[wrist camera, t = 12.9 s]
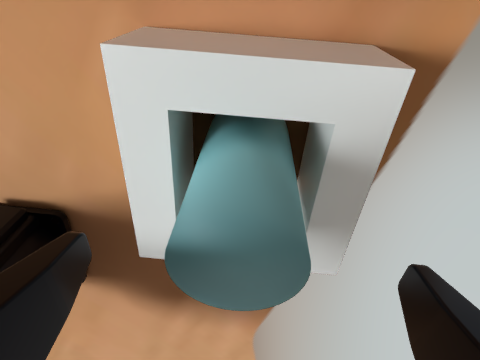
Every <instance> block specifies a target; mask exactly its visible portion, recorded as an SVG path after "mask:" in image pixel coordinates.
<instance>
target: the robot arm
mask: <svg viewBox="0 0 480 360" xmlns="http://www.w3.org/2000/svg"><path fill="white" fill-rule="evenodd" d="M91 256H92V254H91V249H90V246H89V243H88V240H87V237H86V235H85V234H84V233H82V232H73V231H72V230H71V227H70V224H69V222H68V219H67V216H66V215H65V214H64V213H63V212H61V211H58V210H49V209H38V208H27V207H16V206H5V205H0V360H46V358H47V356H48V354H49V352H50V350H51V348H52V346H53V345H54V343H55V341H56V339H57V337H58V335H59V333H60V331H61V329H62V327H63V325H64V323H65V321H66V319H67V317H68V315H69V313H70V311H71V309H72V306H73V304H74V302H75V299H76V296H77V294H78V291H79V289H80V286H81V284H82V283H83V282H84V281H85V279H86V277H87V273H86V271H87V269H88V266H89V264H90V261H91ZM398 291H399V296H400V301H401V305H402V310H403V314H404V319H405V323H406V328H407V332H408V337H409V341H410V344H411V348H412V351H413V355H414V358H415V360H480V310H479V309H478V308H477V307H475V306H474V305H473V304H472V303H471V302H470V301H468V300H467V299H466V298H465V297H464V296H462V295H461V294H460V293H459V292H458V291H457V290H455V289H454V288H453V287H452V286H450V285H449V284H448V283H447V282H446V281H445V280H444V279H442V278H441V277H440V276H439V275H438V274H436V273H435V272H434V271H433V270H432V269H430V268H429V267H428V266H425V265H416V264H411V265H410V266H408V268H407V270H406V271H405V273H404V275H403V276H402V278H401V280H400V281H399V285H398Z"/></svg>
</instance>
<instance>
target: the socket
mask: <svg viewBox="0 0 480 360" xmlns="http://www.w3.org/2000/svg"><path fill="white" fill-rule="evenodd" d="M100 46H101V51H102V57H103V62H104V68H105V73H106V78H107V84H108V89H109V94H110V100H111V105H112V111H113V116H114V121H115V127H116V132H117V138H118V143H119V148H120V154H121V159H122V165H123V170H124V175H125V181H126V186H127V192H128V197H129V202H130V208H131V213H132V219H133V224H134V229H135V235H136V240H137V245H138V251H139V256H140V257H146V258H157V259H165V250H166V247H167V244H168V241H169V238H170V235H171V233H172V230H173V227H174V224H175V222H176V219H177V216H178V213H179V210H180V208H181V205H182V202H183V199H184V197H185V194H186V191H187V188H188V186H189V183H190V180H191V177H192V174H193V172H194V153H193V116H192V112H199V113H211V114H223V115H234V116H246V117H257V118H269V119H281V120H292V121H304V122H310V123H309V128H308V132H307V137H306V142H305V147H304V151H303V156H302V161H301V166H300V170H299V175H298V180H297V185H298V190H299V196H300V202H301V208H302V213H303V219H304V225H305V231H306V236H307V242H308V248H309V254H310V259H311V271H310V273H316V274H327V275H337V272H338V270H339V267H340V265H341V262H342V260H343V257H344V255H345V252H346V249H347V247H348V244H349V241H350V239H351V236H352V234H353V231H354V228H355V226H356V223H357V221H358V218H359V215H360V213H361V210H362V208H363V205H364V203H365V200H366V198H367V195H368V192H369V190H370V187H371V185H372V182H373V179H374V177H375V174H376V172H377V169H378V166H379V164H380V161H381V159H382V156H383V153H384V151H385V148H386V146H387V143H388V140H389V138H390V135H391V133H392V130H393V127H394V125H395V122H396V120H397V117H398V114H399V112H400V109H401V107H402V104H403V102H404V99H405V96H406V94H407V91H408V89H409V86H410V83H411V81H412V78H413V76H414V73H415V70H416V69H414V68H412V67H410V66H409V65H407V64H405V63H403V62H402V61H400V60H398V59H396V58H395V57H393V56H391V55H390V54H388V53H386V52H384V51H383V50H381V49H379V48H377V47H376V46H374V45H364V44H352V43H340V42H327V41H315V40H303V39H291V38H278V37H266V36H254V35H241V34H229V33H217V32H205V31H192V30H180V29H168V28H156V27H142V28H139V29H137V30H134V31H131V32H129V33H126V34H124V35H121V36H118V37H116V38H113V39H110V40H108V41H105V42H103V43H100Z"/></svg>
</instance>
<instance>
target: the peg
mask: <svg viewBox="0 0 480 360" xmlns="http://www.w3.org/2000/svg"><path fill="white" fill-rule="evenodd" d="M165 266H166V269H167V272H168V274H169V276H170V277H171V279H172V280H173V282H174V283H175V284H176V285H177V286H178V287H179V288H180V289H181V290H182V291H183V292H185V293H186V294H187V295H189V296H190V297H192V298H194V299H196V300H198V301H200V302H202V303H204V304H207V305H210V306H213V307H216V308H221V309H226V310H235V311H252V310H260V309H266V308H270V307H273V306H276V305H279V304H281V303H283V302H285V301H287V300H289V299H290V298H292V297H293V296H295V295H296V294H297V293H298V292H299V291H300V290H301V289H302V288H303V287H304V286H305V284H306V282H307V281H308V278H309V276H310V271H311V259H310V254H309V248H308V242H307V236H306V231H305V225H304V219H303V213H302V208H301V202H300V196H299V190H298V185H297V179H296V173H295V167H294V162H293V156H292V150H291V144H290V139H289V133H288V128H287V125H286V123H285V121H284V120H281V119H269V118H257V117H246V116H234V115H223V114H216V115H215V117H214V118H213V120H212V122H211V125H210V127H209V130H208V133H207V136H206V138H205V141H204V144H203V147H202V149H201V152H200V155H199V158H198V161H197V163H196V166H195V169H194V172H193V174H192V177H191V180H190V183H189V186H188V188H187V191H186V194H185V197H184V199H183V202H182V205H181V208H180V210H179V213H178V216H177V219H176V222H175V224H174V227H173V230H172V233H171V235H170V238H169V241H168V244H167V247H166V250H165Z"/></svg>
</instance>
